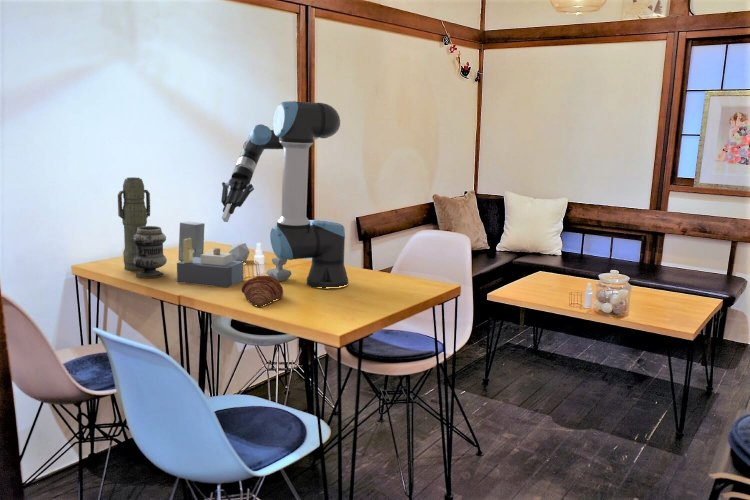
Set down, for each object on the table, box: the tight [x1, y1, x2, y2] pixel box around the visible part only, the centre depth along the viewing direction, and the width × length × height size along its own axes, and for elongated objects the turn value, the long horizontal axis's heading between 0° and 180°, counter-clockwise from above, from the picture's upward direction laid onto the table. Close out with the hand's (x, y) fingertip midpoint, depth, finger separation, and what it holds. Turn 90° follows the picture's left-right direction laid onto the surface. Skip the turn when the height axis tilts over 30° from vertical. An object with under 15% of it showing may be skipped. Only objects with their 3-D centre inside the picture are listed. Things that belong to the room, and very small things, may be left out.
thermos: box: [117, 176, 151, 272], centre depth 254 cm, size 9×12×35 cm
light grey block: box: [201, 247, 233, 265], centre depth 240 cm, size 9×7×5 cm
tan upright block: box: [183, 238, 194, 263], centre depth 237 cm, size 2×5×8 cm, turn 164°
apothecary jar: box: [132, 225, 168, 279], centre depth 245 cm, size 12×12×18 cm
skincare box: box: [178, 220, 205, 262], centre depth 274 cm, size 8×7×16 cm
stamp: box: [266, 257, 292, 282], centre depth 245 cm, size 9×7×8 cm
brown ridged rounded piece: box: [241, 275, 284, 306], centre depth 219 cm, size 17×15×8 cm
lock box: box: [176, 257, 244, 289], centre depth 240 cm, size 20×12×7 cm, turn 74°
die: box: [228, 242, 250, 262], centre depth 275 cm, size 8×9×10 cm
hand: (224, 219), depth 247 cm, fingers closed
